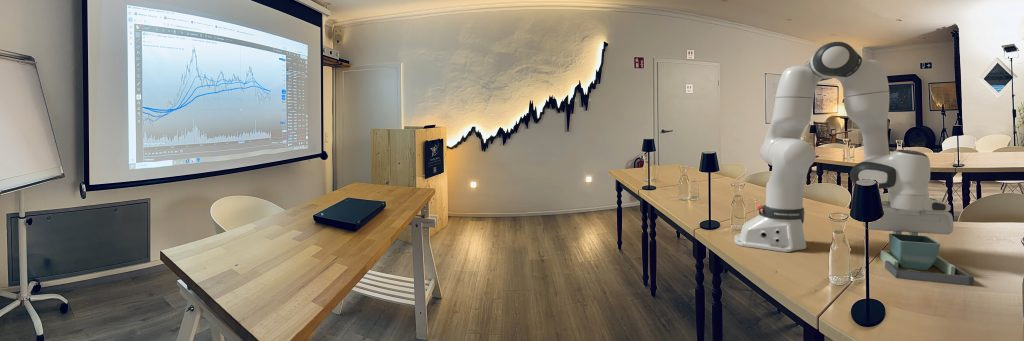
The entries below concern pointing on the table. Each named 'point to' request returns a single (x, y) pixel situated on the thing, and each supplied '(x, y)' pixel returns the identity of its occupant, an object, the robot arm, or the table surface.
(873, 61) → the robot arm
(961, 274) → the frame
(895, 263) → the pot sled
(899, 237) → the flower pot
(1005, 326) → the table surface
